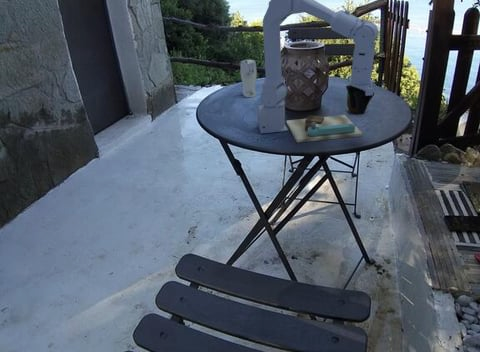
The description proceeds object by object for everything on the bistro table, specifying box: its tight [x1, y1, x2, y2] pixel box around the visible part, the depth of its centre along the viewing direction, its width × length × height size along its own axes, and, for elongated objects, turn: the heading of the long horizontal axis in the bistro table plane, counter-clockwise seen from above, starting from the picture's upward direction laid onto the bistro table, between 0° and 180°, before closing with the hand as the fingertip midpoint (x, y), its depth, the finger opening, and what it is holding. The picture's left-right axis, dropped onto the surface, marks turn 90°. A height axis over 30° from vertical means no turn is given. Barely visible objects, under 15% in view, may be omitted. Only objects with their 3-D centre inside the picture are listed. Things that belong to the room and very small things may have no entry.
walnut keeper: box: [305, 115, 325, 131], centre depth 126 cm, size 4×5×4 cm
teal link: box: [308, 122, 356, 136], centre depth 122 cm, size 16×4×4 cm, turn 96°
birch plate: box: [285, 114, 363, 143], centre depth 129 cm, size 22×17×1 cm
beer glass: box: [239, 59, 257, 98], centre depth 162 cm, size 7×7×15 cm
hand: (357, 110), depth 115 cm, fingers open, 4 cm apart
